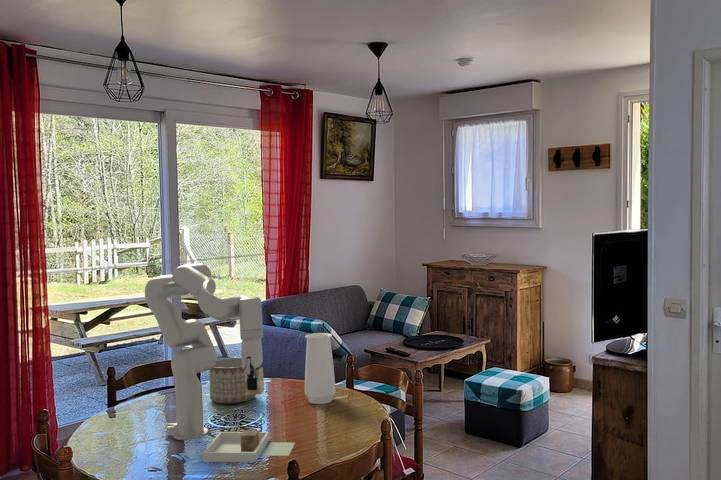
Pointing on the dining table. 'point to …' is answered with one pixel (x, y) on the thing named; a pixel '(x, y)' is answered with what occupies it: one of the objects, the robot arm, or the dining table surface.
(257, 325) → the robot arm
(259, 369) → the birch box
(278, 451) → the pad
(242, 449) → the walnut block
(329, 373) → the vase
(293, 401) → the dining table surface
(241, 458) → the bin
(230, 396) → the planter
